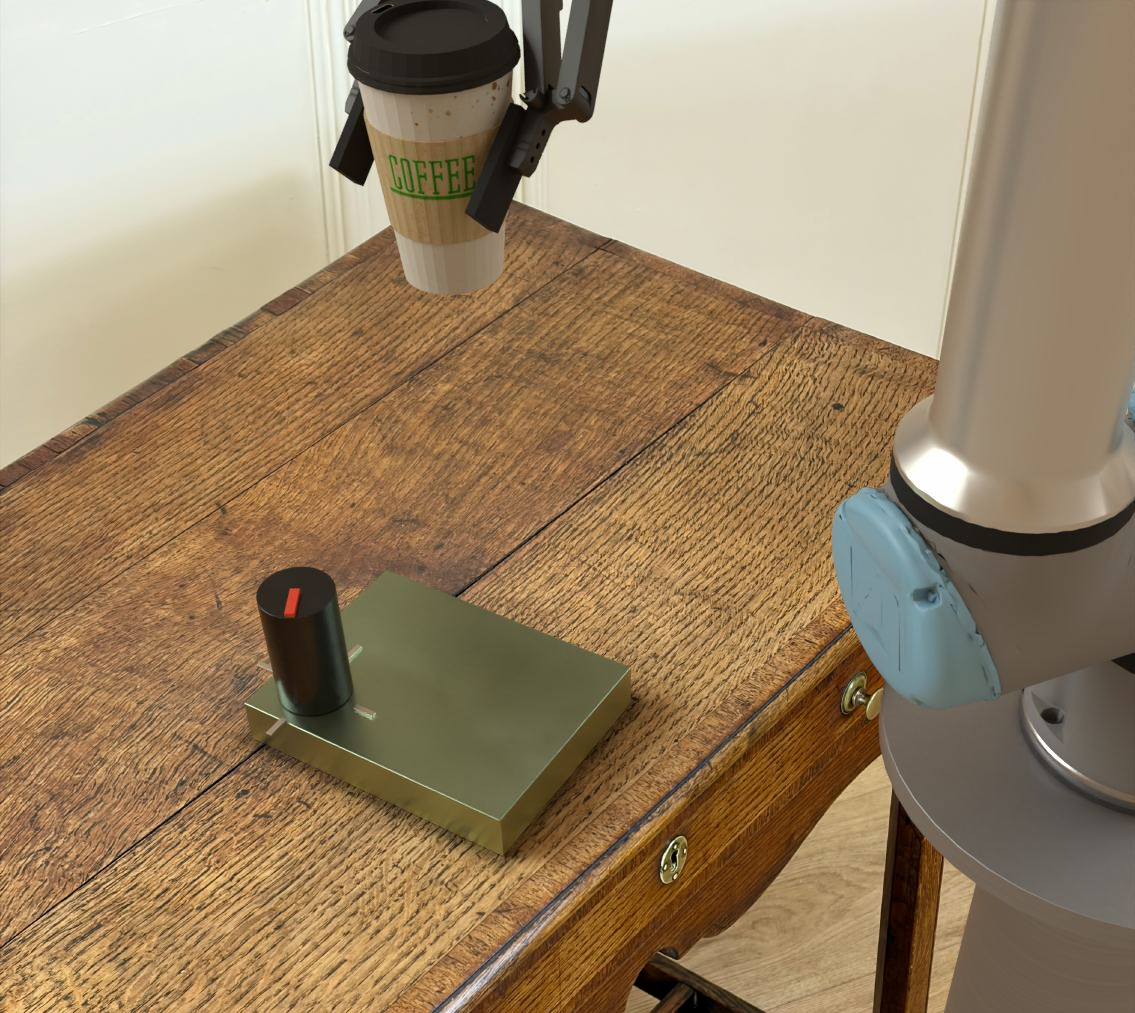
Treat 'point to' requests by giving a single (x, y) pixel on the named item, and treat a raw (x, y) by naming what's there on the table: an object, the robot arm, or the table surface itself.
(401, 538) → the table surface
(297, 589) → the knob
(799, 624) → the table surface
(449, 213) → the coffee cup
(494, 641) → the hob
